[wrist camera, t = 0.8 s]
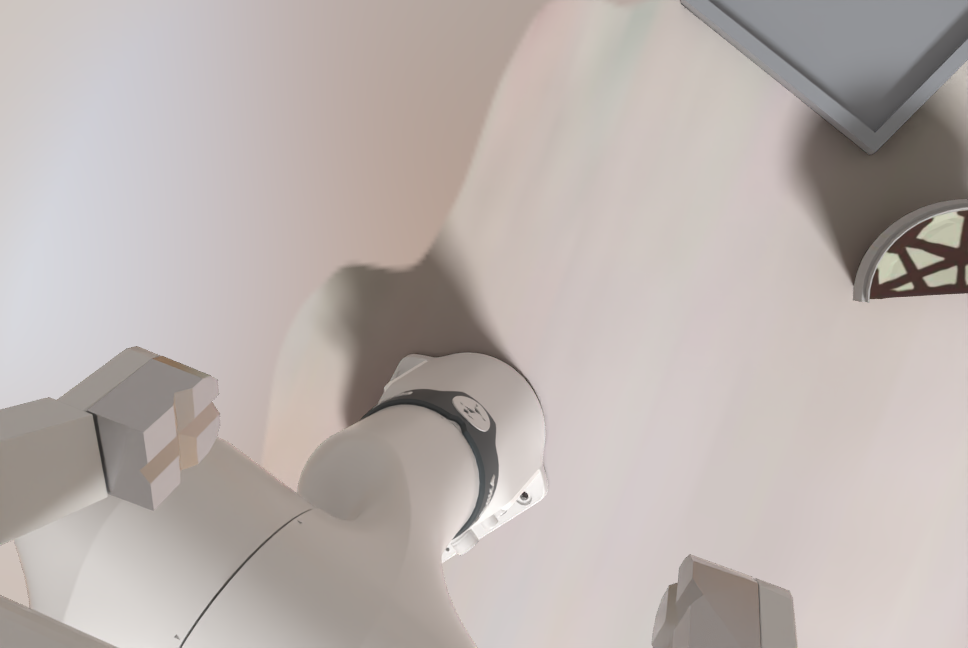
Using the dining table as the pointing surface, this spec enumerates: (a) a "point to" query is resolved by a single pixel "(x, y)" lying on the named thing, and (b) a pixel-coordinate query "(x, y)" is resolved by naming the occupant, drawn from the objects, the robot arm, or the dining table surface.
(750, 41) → the tray
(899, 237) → the food container
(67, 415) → the robot arm
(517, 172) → the dining table surface
